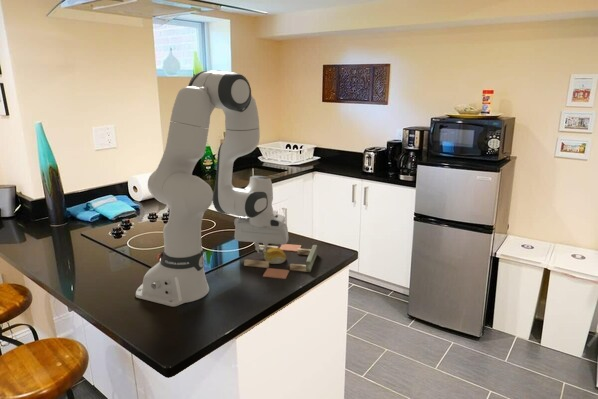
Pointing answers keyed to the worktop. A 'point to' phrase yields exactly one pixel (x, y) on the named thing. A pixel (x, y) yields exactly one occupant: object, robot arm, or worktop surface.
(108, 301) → the worktop surface
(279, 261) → the bread roll
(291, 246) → the trap pads
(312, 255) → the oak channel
